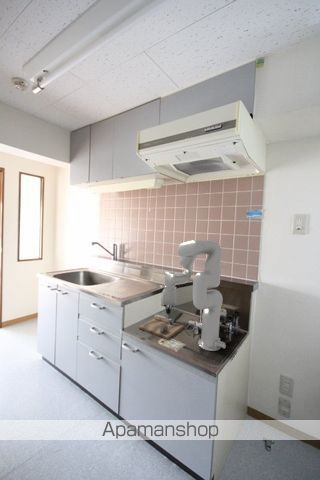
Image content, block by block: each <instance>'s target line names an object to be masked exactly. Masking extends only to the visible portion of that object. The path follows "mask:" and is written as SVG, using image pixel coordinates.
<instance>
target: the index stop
mask: <svg viewBox="0 0 320 480" xmlns="http://www.w3.org/2000/svg"><path fill="white" fill-rule="evenodd" d="M167 330H168V326H167V325H164V326H162V327H161V328H160V333H165V332H166V331H167Z"/></svg>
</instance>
